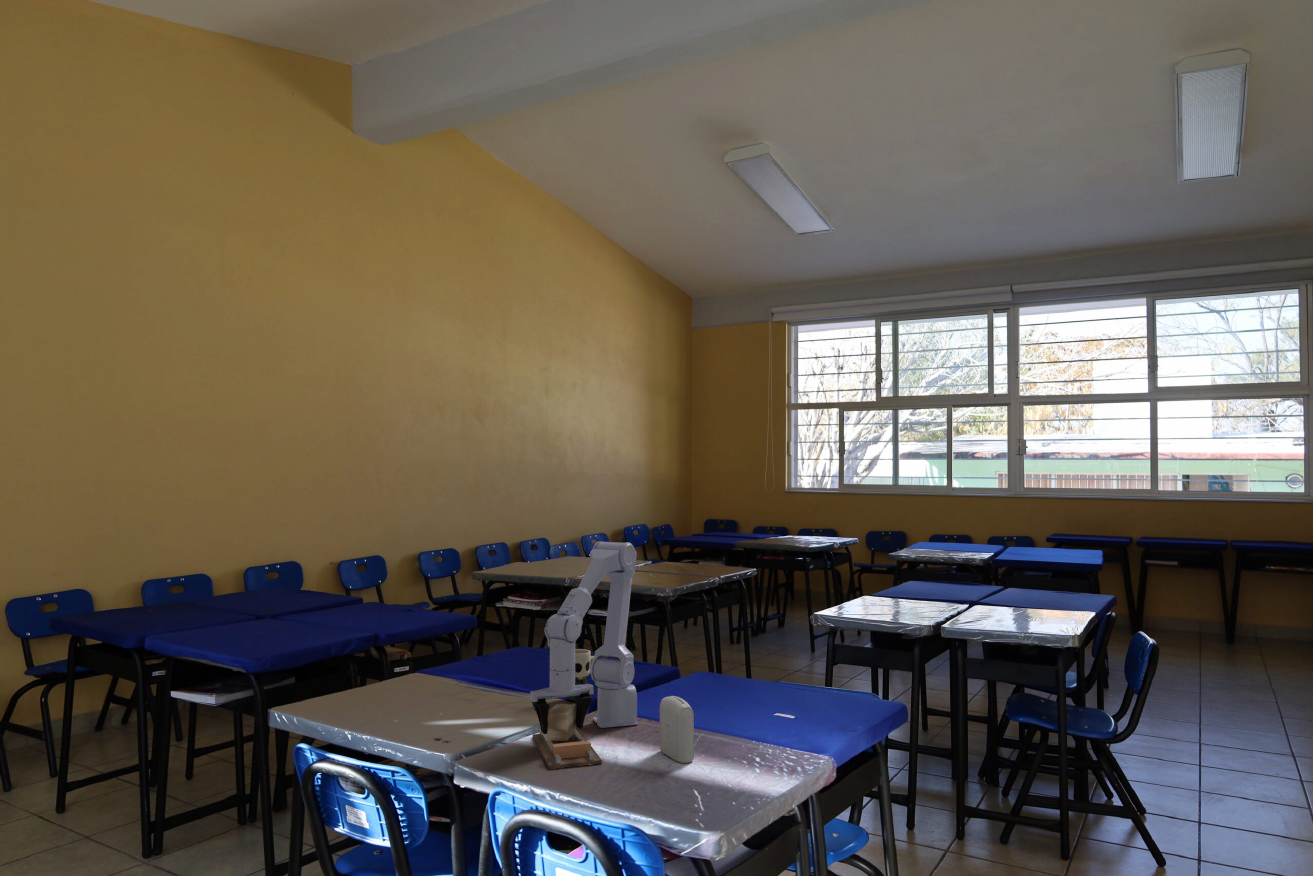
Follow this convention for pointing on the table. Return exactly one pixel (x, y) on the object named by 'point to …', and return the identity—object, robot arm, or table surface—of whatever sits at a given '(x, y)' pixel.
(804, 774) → the table surface
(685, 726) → the photo printer
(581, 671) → the character mug
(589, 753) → the rail
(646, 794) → the table surface
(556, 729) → the block
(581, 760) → the mounting board
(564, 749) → the tan wooden bar
